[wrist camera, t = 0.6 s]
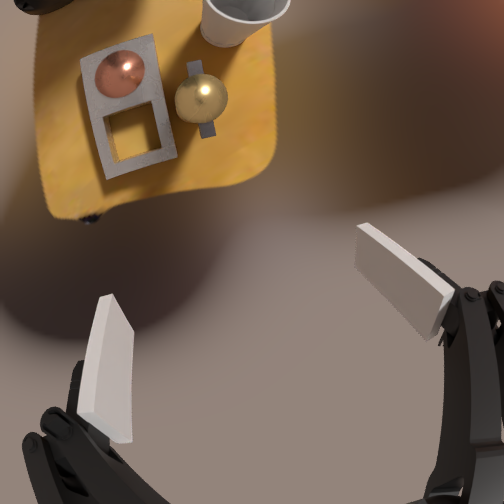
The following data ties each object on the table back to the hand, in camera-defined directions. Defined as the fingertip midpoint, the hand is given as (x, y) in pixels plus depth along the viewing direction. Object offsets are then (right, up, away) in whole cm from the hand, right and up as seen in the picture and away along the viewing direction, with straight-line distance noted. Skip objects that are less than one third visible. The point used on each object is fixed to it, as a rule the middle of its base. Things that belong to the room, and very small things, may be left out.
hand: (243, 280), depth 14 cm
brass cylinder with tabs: (-7, +19, +16) cm, 26 cm away
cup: (-3, +30, +12) cm, 32 cm away
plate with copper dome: (-15, +19, +14) cm, 28 cm away
